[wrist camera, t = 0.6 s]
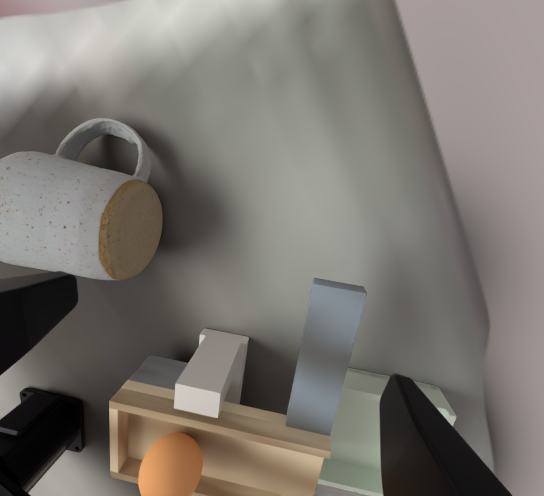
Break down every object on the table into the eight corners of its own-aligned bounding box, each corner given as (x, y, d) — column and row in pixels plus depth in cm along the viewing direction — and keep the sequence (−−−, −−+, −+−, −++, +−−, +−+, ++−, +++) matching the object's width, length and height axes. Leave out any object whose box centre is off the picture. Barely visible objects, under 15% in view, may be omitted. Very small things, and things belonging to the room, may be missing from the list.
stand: (234, 443, 27) (212, 525, 20) (194, 434, 27) (161, 512, 21) (249, 337, 24) (228, 395, 17) (204, 328, 24) (167, 381, 18)
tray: (404, 475, 25) (417, 513, 22) (307, 452, 26) (307, 487, 23) (437, 385, 22) (456, 416, 20) (328, 363, 23) (331, 390, 20)
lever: (310, 457, 24) (311, 527, 19) (148, 419, 25) (110, 476, 20) (355, 270, 19) (371, 302, 14) (153, 235, 20) (106, 253, 16)
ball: (208, 467, 21) (185, 534, 17) (157, 455, 21) (124, 518, 17) (213, 425, 19) (190, 487, 16) (159, 413, 20) (124, 470, 16)
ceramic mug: (166, 266, 23) (99, 307, 15) (75, 248, 23) (-32, 278, 16) (176, 132, 20) (102, 103, 13) (74, 115, 21) (-54, 77, 13)
